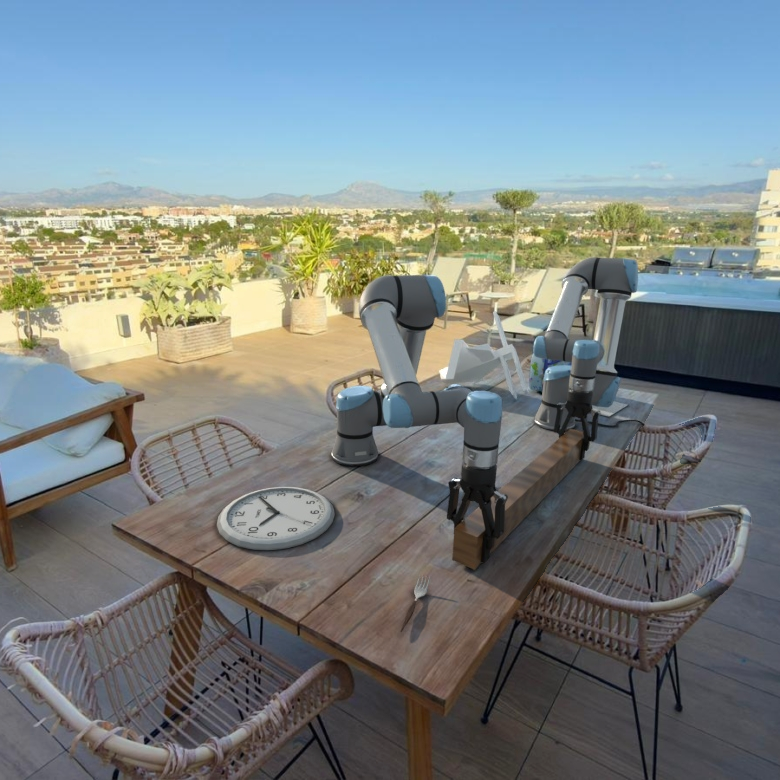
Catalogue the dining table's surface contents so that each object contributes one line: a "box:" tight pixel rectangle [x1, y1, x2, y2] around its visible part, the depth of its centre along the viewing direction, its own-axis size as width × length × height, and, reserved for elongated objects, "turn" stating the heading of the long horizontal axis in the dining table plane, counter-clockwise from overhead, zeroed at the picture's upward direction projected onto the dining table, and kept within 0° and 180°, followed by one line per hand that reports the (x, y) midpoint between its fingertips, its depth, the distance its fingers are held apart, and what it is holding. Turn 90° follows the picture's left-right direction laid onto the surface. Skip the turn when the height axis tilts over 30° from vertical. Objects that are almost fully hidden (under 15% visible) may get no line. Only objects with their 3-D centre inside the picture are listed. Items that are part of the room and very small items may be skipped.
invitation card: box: [592, 401, 629, 418], centre depth 226 cm, size 21×1×15 cm
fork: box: [400, 573, 431, 633], centre depth 105 cm, size 3×16×2 cm, turn 160°
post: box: [452, 429, 584, 571], centre depth 145 cm, size 77×6×8 cm, turn 143°
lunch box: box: [528, 352, 572, 393], centre depth 247 cm, size 26×11×21 cm, turn 134°
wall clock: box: [216, 486, 336, 551], centre depth 136 cm, size 30×2×30 cm
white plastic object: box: [438, 310, 531, 400], centre depth 245 cm, size 37×45×31 cm
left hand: (472, 553), depth 120 cm, fingers closed on post, 6 cm apart
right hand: (571, 456), depth 173 cm, fingers closed on post, 6 cm apart
